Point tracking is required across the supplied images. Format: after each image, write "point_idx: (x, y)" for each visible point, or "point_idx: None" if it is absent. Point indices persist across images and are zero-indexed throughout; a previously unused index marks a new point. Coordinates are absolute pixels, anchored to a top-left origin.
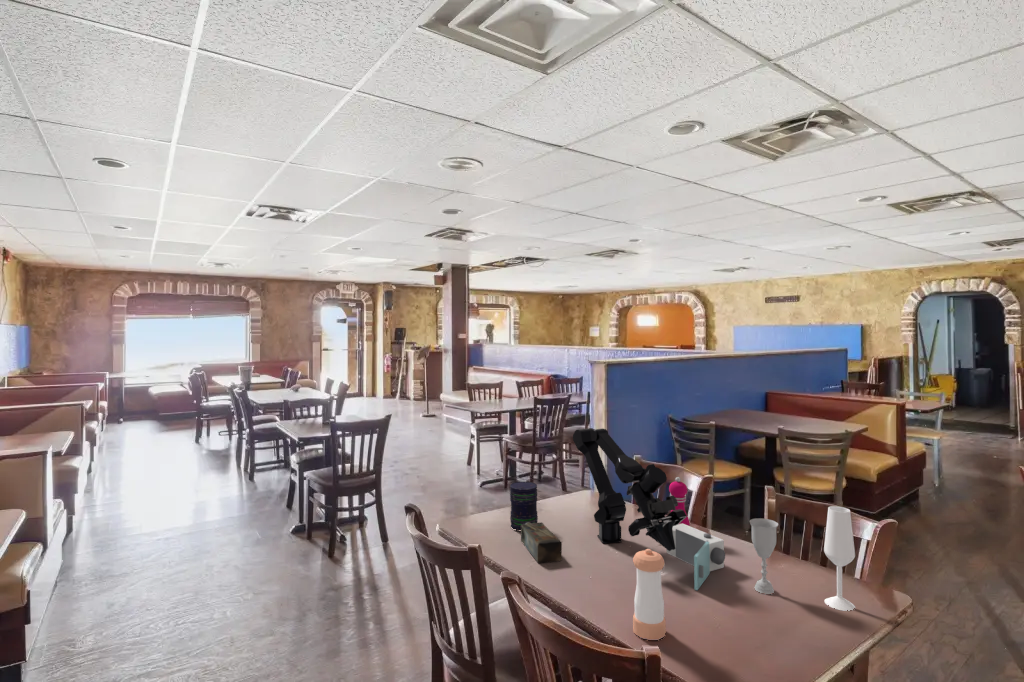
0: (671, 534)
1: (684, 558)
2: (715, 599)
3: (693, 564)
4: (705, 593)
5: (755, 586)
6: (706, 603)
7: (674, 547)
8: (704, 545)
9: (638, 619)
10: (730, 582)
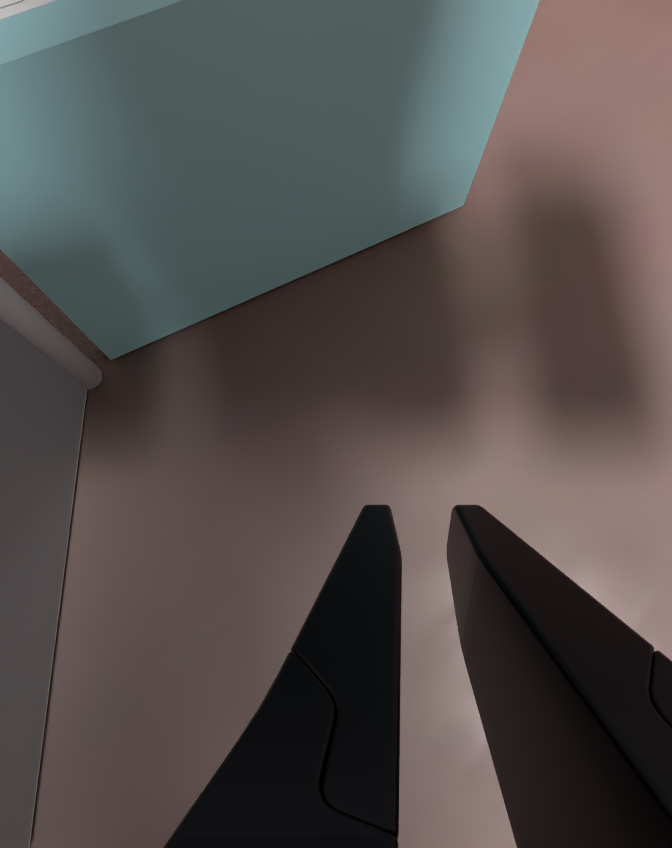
0: (328, 696)
1: (32, 699)
2: None
3: (62, 548)
4: None
5: (30, 5)
6: (524, 56)
7: (384, 510)
8: (82, 15)
9: None
10: None
